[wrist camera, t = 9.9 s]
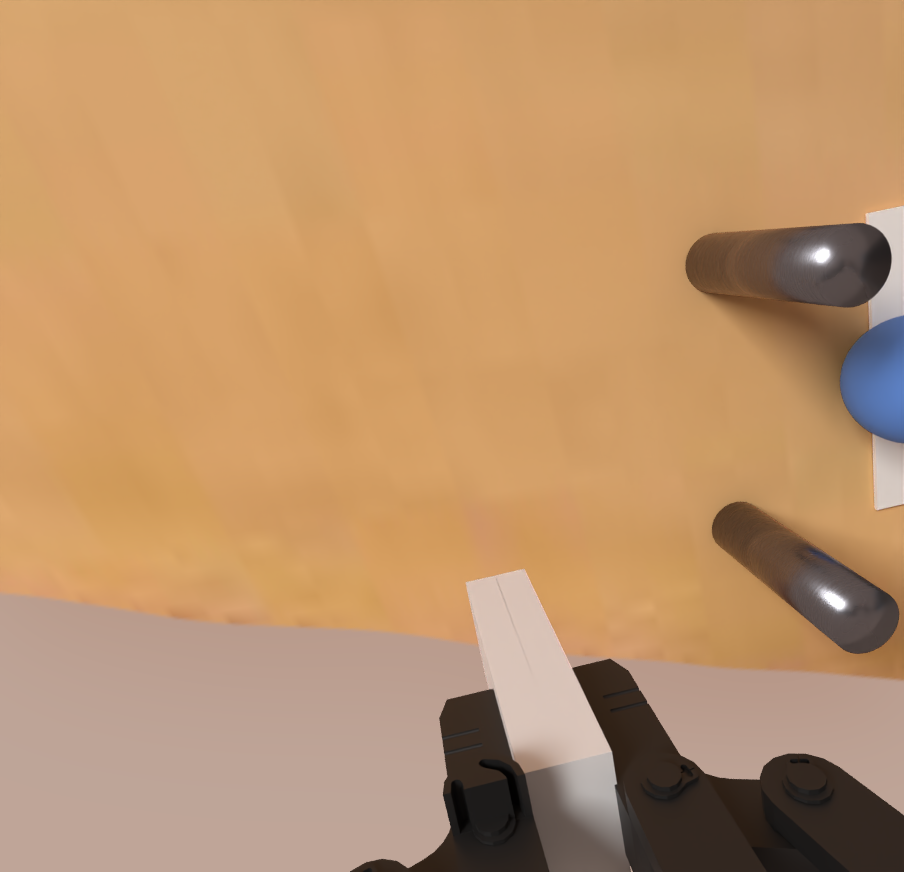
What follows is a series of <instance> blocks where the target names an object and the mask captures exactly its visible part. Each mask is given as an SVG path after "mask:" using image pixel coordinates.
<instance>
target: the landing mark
mask: <svg viewBox="0 0 904 872" xmlns="http://www.w3.org/2000/svg"><path fill="white" fill-rule="evenodd" d="M866 224H868V225H871V226H873V227H875V228H877V229H878V230H880V231H881V232H882V233H883V234H884V236H885V237H886V239H887V241H888V242H889V245H890V249H891V254H892V263H891V269H890V273H889V276H888V278H887V280H886V282H885V284H884V286H883V287H882V289H881V290H880V291H879V292H878V293H877V294H876V295H875V296H874V297H873V298H872V299H870V300H869V301H868V306H869V330H870V329H872V328H873V327H875V326H877V325H878V324H880V323H882V322H884V321H887V320H889V319H892V318H895V317H899V316H903V315H904V206H900V207H895V208H890V209H885V210H880V211H876V212H871V213H866ZM872 439H873V472H874V506H875V509H876V510H880V509H884V508H889V507H893V506H897V505H901V504H904V443H897V442H893V441H889V440H886V439H883V438H881V437H878V436H876V435H874V434H872Z"/></svg>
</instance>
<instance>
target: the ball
mask: <svg viewBox="0 0 904 872" xmlns="http://www.w3.org/2000/svg"><path fill="white" fill-rule="evenodd" d="M840 389H841V394H842V398H843V401H844V404H845V406H846V408H847V409H848V411H849V412H850V414H851V415H852V417H853V418H854V419H855V420H856V421H857V422H858V423H859V424H860V425H861V426H862V427H863V428H865V429H866V430H868V431H869V432H871V433H872V434H874V435H876V436H878V437H881V438H883V439H886V440H889V441H893V442H897V443H904V315H903V316H899V317H895V318H892V319H889V320H887V321H884V322H882V323H880V324H878V325H877V326H875V327H873V328H872V329H870V330H869V331H867V332H866V333H865V334H863V335H862V336H861V337H860V338H859V339H858V340H857V341H856V342H855V344H854V345H853V346H852V348H851V349H850V351H849V352H848V354H847V356H846V358H845V360H844V363H843V365H842V369H841V375H840Z"/></svg>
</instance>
